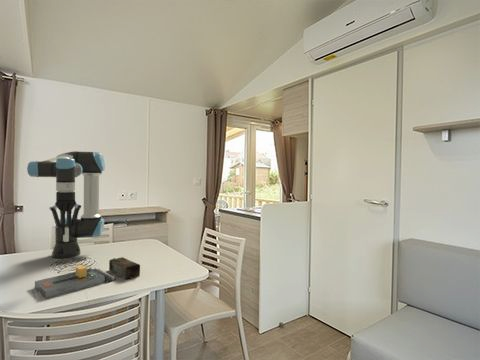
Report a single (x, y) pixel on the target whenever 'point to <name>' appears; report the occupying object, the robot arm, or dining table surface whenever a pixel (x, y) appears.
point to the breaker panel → (67, 283)
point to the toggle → (81, 271)
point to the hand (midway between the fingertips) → (65, 241)
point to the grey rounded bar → (107, 276)
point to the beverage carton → (124, 268)
